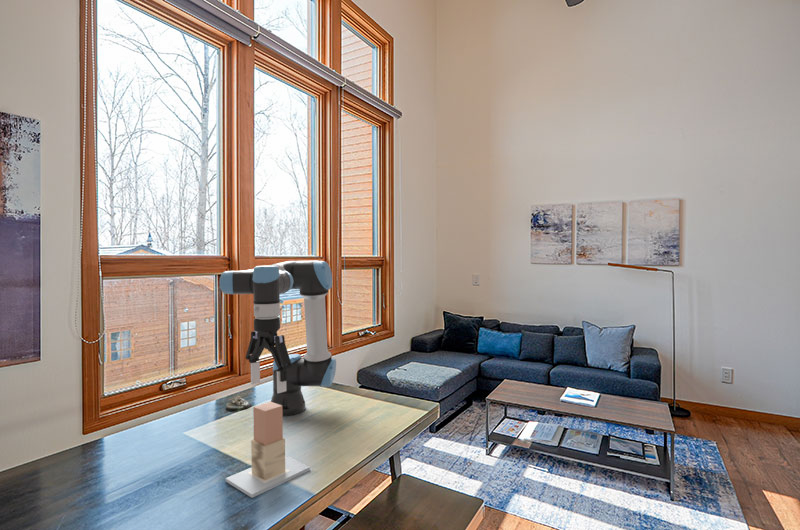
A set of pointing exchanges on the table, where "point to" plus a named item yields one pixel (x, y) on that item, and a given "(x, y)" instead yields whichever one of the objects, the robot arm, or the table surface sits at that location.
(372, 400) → the table surface
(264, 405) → the terracotta block
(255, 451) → the beech block
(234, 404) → the grey lumpy mound
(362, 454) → the table surface
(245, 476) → the white flat board
